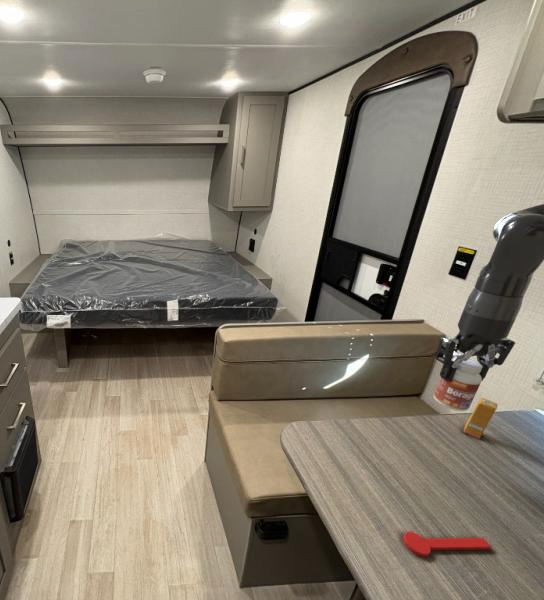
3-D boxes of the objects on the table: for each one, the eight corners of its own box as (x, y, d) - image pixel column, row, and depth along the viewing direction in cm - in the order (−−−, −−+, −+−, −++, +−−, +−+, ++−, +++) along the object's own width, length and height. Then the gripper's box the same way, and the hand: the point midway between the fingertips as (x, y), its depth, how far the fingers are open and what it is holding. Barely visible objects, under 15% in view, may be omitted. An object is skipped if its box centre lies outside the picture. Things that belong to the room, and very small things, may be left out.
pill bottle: (439, 407, 73) (456, 366, 68) (428, 392, 78) (443, 352, 74) (474, 415, 70) (494, 372, 66) (461, 398, 76) (478, 358, 72)
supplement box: (481, 440, 81) (497, 409, 78) (463, 432, 84) (477, 401, 80) (482, 433, 84) (498, 402, 80) (464, 426, 86) (479, 396, 82)
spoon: (476, 534, 60) (477, 531, 60) (496, 556, 57) (498, 553, 56) (398, 534, 60) (399, 531, 60) (414, 556, 57) (415, 554, 56)
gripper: (471, 319, 62) (443, 390, 68) (545, 319, 62) (510, 389, 68) (438, 305, 69) (415, 370, 75) (505, 304, 69) (476, 369, 75)
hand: (460, 379), depth 72 cm, fingers closed on pill bottle, 6 cm apart
